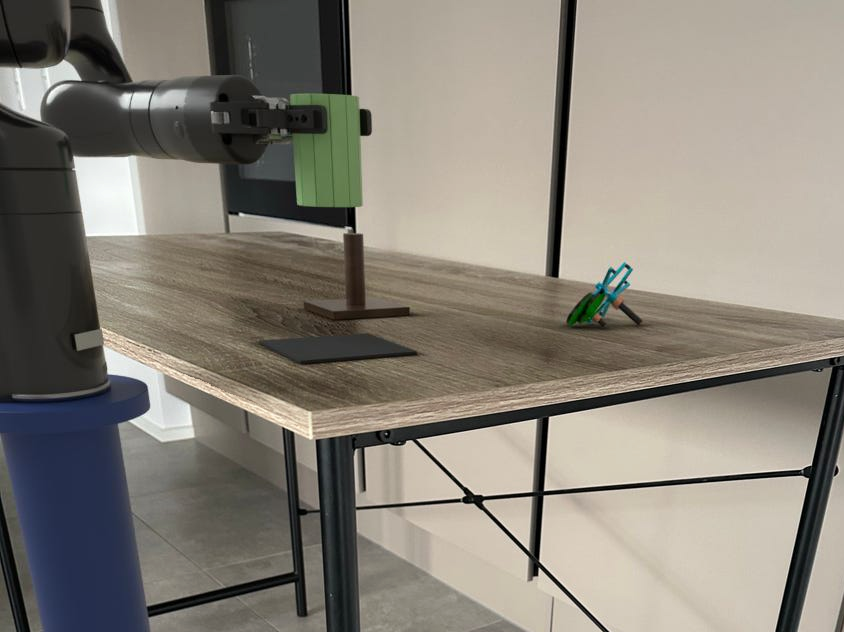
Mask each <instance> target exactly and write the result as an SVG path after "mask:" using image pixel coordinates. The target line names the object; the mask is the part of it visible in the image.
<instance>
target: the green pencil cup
mask: <svg viewBox="0 0 844 632" xmlns="http://www.w3.org/2000/svg"><path fill="white" fill-rule="evenodd" d="M289 96H290V97H289V99H290V101H291V105H323V106H325V107H326V110H327V125H328V129H327V132H326V133H325V134H293V135H292V136H293V142H292V145H293V161H294V162H293V163H294V175H295V193H296V205H297V206H299V207H311V208H359V207H363V206H364V204H363V203H364V201H363V174H362V173H363V172H362V171H363V170H362V143H361V141H362V139H361V136H360V111H359V109H360V97H359V96H357V95H350V94H337V93H335V94H334V93H291V94H290V95H289Z"/></svg>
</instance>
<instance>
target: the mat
mask: <svg viewBox="0 0 844 632" xmlns="http://www.w3.org/2000/svg"><path fill="white" fill-rule="evenodd" d="M258 343H259V345H262V346H264V347H266V348H268V349H270V350H271V351H273V352H275V353H278V354H280V355H282V356H283V357H286V358H288V359H290V360H292V361H294V362H296V363H298V364H300V365H305V364H318V363H319V364H320V363H330V362H342V361H353V360H366V359H367V360H368V359H378V358H388V357H389V358H391V357H402V356H413V355H415V356H416V355H418V351H417V350H414V349H412V348H409V347H406V346H403V345H401V344H398V343H395V342H392V341H390V340H387V339H385V338H381V337H379V336H377V335H373V334H371V333H368V332H362V333H349V334H348V333H347V334H336V335H322V336H321V335H320V336H307V337H306V336H305V337H304V336H303V337H292V338H279V339H278V338H277V339H264V340H259V341H258Z"/></svg>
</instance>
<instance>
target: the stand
mask: <svg viewBox="0 0 844 632" xmlns="http://www.w3.org/2000/svg"><path fill="white" fill-rule="evenodd" d="M342 237H343V238H342V239H343V260H344V261H343V262H344V265H343V266H344V281H345V282H344V285H345V298H334V299H333V298H332V299H315V300H314V299H313V300H303V310H305V311H309V312H311V313H314V314H317V315H320V316H322V317H325V318H328V319H330V320H333V321H338V320H339V321H340V320H357V319H371V318H372V319H373V318H385V317H386V318H389V317H404V316H410V315H411V314H410V313H411V309H410V308H411V307H410V306H408V305H404V304H400V303H397V302H394V301H391V300H387V299H384V298H380V297H377V296H374V297H373V296H372V297H366V276H365V274H366V273H365V247H364V246H365V244H364V233H360V232H359V233H358V232H346V233H343V234H342Z"/></svg>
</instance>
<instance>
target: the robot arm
mask: <svg viewBox="0 0 844 632" xmlns="http://www.w3.org/2000/svg"><path fill="white" fill-rule="evenodd" d="M63 61H65V62H67V63H68V64H70V66H72V67H73V69H74V70H75V72H76V73H77V75H78V77H79V78H80V80H79V79H78V80H75V79H64V80H59V81H57V82H55V83H53V84H52V85H51V86H50V87H48V89H46V91H45V92H44V94H43V96H42V99H41V102H40V107H39V117H40V120H39V119H36V118H34V117H31V116H28V115H26V114H24V113H21V112H18V111H16V110H15V109H13V108H11V107H9V106H7V105H6V104H4V103H3V102H1V101H0V403H10V402H20V403H52V402H64V401H73V400H80V399H85V398H90V397H94V396H98V395H101V394H103V393H105V392H107V391H109V390H110V389H111V384H110V379H109V378H108V374H109V373H108V365H107V364H108V363H107V361H106V360H107V359H106V354H105V349H104V345H105V341H104V334H103V329H102V328H101V323H100V318H99V317H100V316H99V312H98V304H97V297H96V292H95V286H94V279H93V273H92V272H93V271H92V266H91V260H90V253H89V248H88V247H89V246H88V242H87V236H86V229H85V224H84V223H85V221H84V216H83V211H82V210H83V208H82V202H81V197H80V190H79V184H78V178H77V177H78V176H77V172H76V170H75V169H76V164H75V159H74V157H75V158H127V157H131V156H133V157H143V158H150V159H154V160H155V159H156V160H178V161H179V160H180V161H185V162H190V163H195V164H213V165H214V164H215V165H216V164H217V165H218V164H219V165H221V164H222V165H251V164H254V163H256V162H258V161H259V160H260V159H261V158H262V157H263V156H264V154H265V152H266V150H267V148H268V145H269V144H270V145H278V146H279V145H282V146H283V145H284V146H287V145H289V144H290V143H293V134H325V133H326V132H327V129H328V125H327V110H326V107H325V106H323V105H291V100H288V99H287V98H284V97H275V96H273V97H272V96H271V97H269V96H266V95H263V93H262V91H261V89H260V88H259V87H258V85H256V83H254V81H252V80H251V79H249V78H248V77H245V76H243V75H239V74H224V75H220V74H219V75H187V76H180V77H176V78H172V79H146V80H139V81H133V79H132V77H131V74H130V72H129V70H128V68H127V65H126V64H125V62H124V60H123V57H122V55H121V53H120V51H119V49H118V47H117V45H116V43H115V42H114V39H113V37H112V35H111V33H110V31H109V28H108V24H107V19H106V16H105V12H104V8H103V3H102V0H0V68H3V69H4V68H5V69H29V70H31V69H33V70H34V69H35V70H37V69H38V70H39V69H46V68H52V67H56V66H58V65H60V64H61V63H62V62H63ZM359 111H360V137H370V136H371V135H372V133H373V118H372V112H371V110H370V109H369V108H359Z"/></svg>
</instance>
